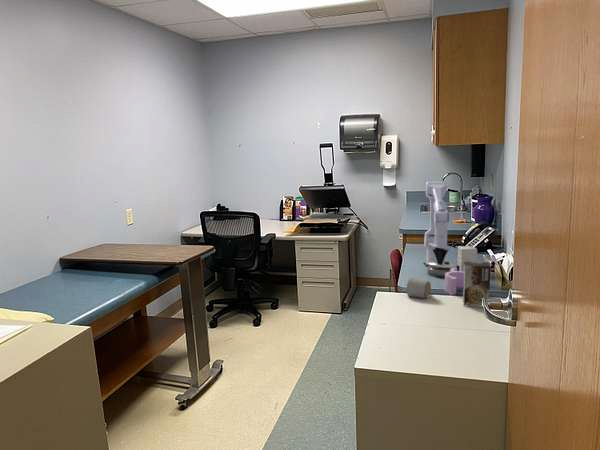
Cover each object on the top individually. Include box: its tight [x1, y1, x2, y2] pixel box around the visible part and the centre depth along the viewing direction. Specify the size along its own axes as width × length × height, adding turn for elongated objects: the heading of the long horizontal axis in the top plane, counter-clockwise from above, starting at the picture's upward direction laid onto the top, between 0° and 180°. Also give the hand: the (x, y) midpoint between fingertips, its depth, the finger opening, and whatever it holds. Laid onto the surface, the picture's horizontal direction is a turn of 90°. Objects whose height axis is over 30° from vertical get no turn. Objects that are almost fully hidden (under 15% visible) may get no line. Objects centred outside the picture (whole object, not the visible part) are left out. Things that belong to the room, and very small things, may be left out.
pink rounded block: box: [443, 268, 464, 296], centre depth 185 cm, size 20×12×7 cm, turn 161°
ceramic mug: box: [406, 276, 432, 299], centre depth 176 cm, size 11×8×8 cm
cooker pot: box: [424, 264, 460, 279], centre depth 209 cm, size 14×18×4 cm
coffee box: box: [462, 261, 492, 308], centre depth 164 cm, size 9×6×16 cm
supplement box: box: [457, 245, 478, 272], centre depth 212 cm, size 7×7×13 cm
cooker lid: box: [426, 260, 457, 268], centre depth 209 cm, size 14×14×2 cm
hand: (440, 263), depth 208 cm, fingers closed, pressing on cooker lid
